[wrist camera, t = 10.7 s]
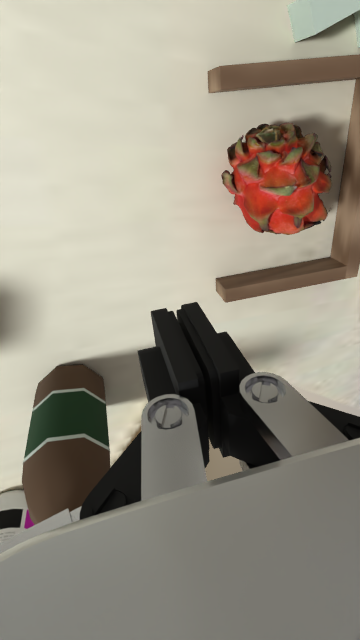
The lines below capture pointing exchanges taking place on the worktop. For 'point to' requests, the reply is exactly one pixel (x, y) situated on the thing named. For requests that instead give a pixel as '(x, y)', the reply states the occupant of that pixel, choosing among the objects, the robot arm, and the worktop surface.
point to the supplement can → (13, 514)
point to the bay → (356, 185)
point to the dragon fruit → (278, 178)
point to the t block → (321, 16)
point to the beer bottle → (65, 441)
